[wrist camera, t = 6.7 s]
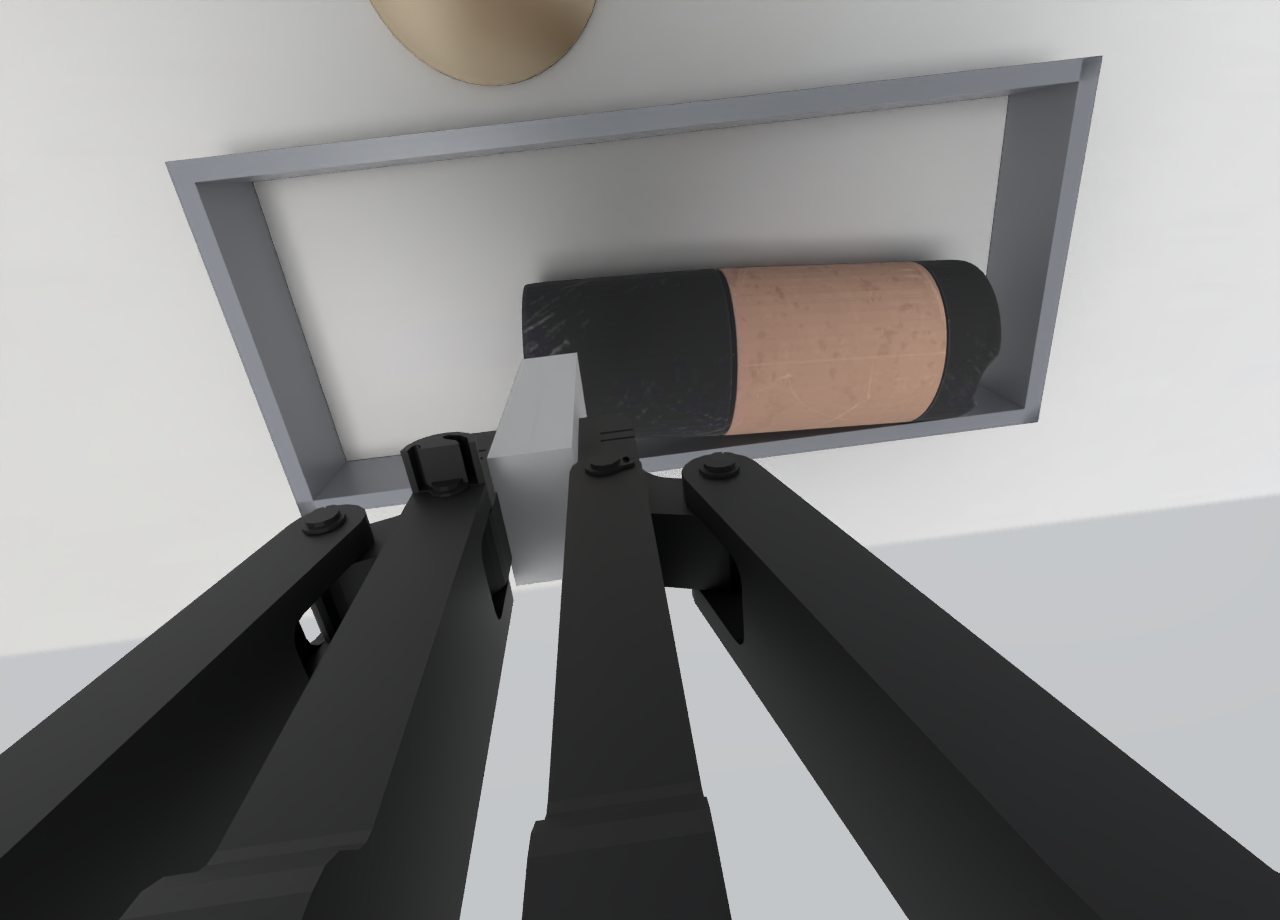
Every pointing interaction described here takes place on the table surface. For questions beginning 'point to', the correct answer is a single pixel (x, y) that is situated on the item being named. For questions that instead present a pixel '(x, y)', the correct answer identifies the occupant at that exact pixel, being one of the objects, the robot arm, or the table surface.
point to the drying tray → (1027, 188)
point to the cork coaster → (486, 35)
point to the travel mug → (772, 344)
